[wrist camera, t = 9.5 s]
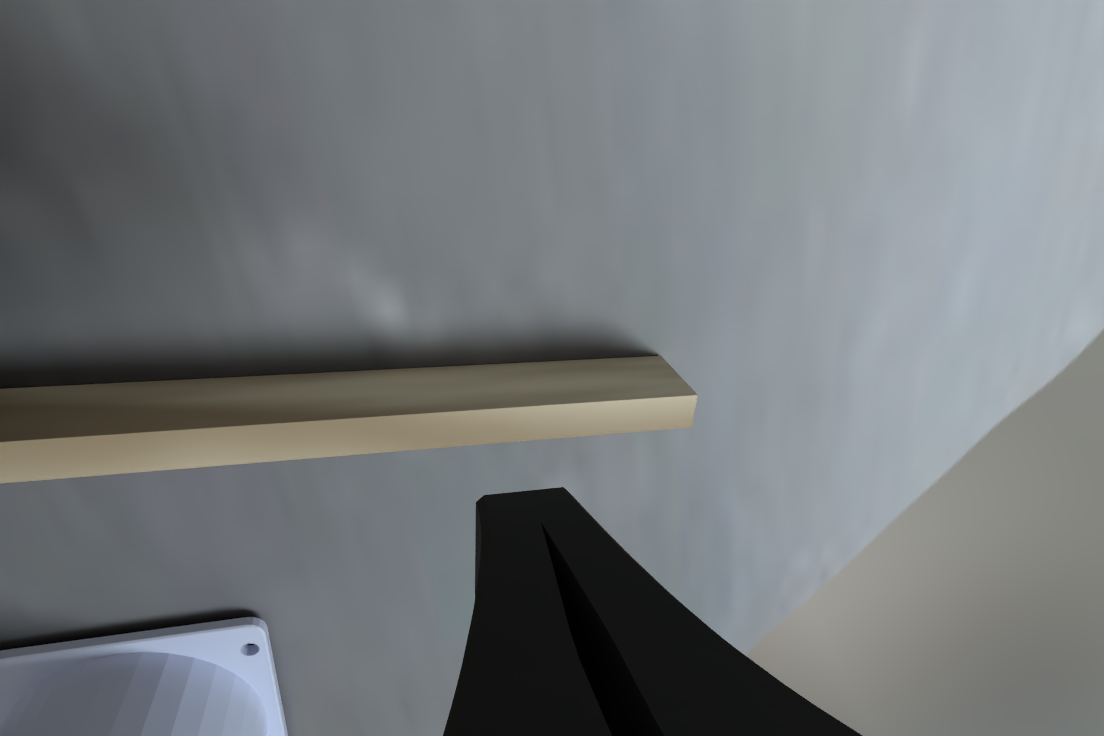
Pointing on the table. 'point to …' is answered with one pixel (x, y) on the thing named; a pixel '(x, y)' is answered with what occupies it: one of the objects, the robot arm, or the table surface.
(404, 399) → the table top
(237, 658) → the robot arm
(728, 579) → the table surface
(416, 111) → the table surface
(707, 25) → the table surface
